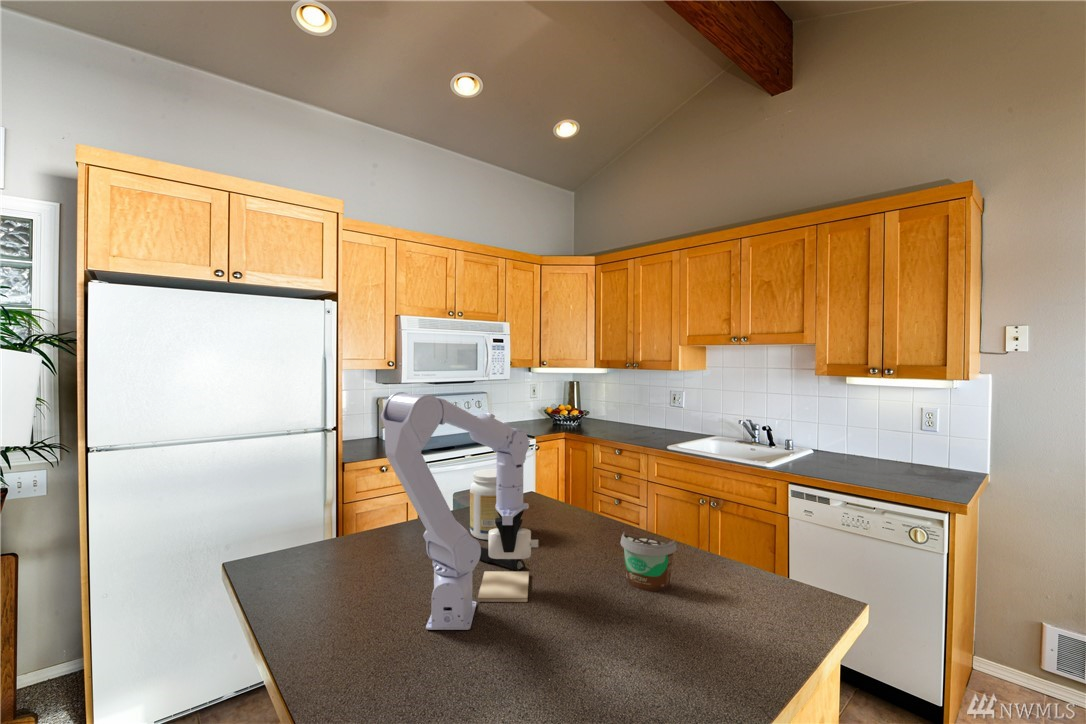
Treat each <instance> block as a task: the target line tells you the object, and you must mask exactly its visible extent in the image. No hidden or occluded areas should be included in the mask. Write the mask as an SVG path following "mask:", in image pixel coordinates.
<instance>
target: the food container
mask: <svg viewBox="0 0 1086 724" xmlns="http://www.w3.org/2000/svg"><path fill="white" fill-rule="evenodd" d="M620 545H621V547H622V548H623V551H624V552H623V553H624V554H623V555H624V564H625V574H626V582H627V583H628V584H629V585H630V586H632V587H633V588H635V589H637V588H638V590H640V591H641V590H642V591H648V592H657V591H658V592H659V591H663V590H665V589H667V588H669V587H670V583H671V574H672V566H673V558H674V553H675V552H676V551H678V549H677V543H676V542H675V540H672V541H670V542H665V541H664V542H663V541H660V540H657V539H654V538H651V537H639V536H638V537H636V536H631V535H626V533H625V530H624V531H623V532H622V535H621V538H620Z"/></svg>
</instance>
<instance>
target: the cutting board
mask: <svg viewBox="0 0 1086 724" xmlns="http://www.w3.org/2000/svg"><path fill="white" fill-rule="evenodd" d="M529 577H530V571H525V570H524V571H523V570H522V571H513V570H511V571H509V570H508V571H504V570H503V571H499V570H498V571H493V570H491V571H487V570H485V571H484V572H483V576H482V580H481V584H480V587H479V590H478V595H477V603H481V602H483V603H486V602H488V603H489V602H490V603H491V602H492V603H497V602H498V603H499V602H502V603H505V602H506V603H515V602H516V603H527V602H528V597H529V583H530V578H529Z"/></svg>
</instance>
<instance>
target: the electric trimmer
mask: <svg viewBox="0 0 1086 724" xmlns="http://www.w3.org/2000/svg"><path fill="white" fill-rule="evenodd" d="M480 547H481V555H480V559H479V561H483V562H484V563H487V564H495V565H498V566H502V567H504V568H506V569H511V571H523V570H525V569H526V564H525V562H524V559H493V558H490V557H489V556H488V548H486V547H483V546H480Z"/></svg>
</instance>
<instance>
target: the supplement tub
mask: <svg viewBox="0 0 1086 724" xmlns="http://www.w3.org/2000/svg"><path fill="white" fill-rule="evenodd" d="M472 480H473V482H472V483H471V484H470V488H469V530H470V534H471V535H472V536H473V538H474V537H475V539H476V538H477V539H480V540H483V541H484V540H485V541H486V540H487V541H488V538H489V530H491V529H496V528H497V526H496V524H495V518H500V517H499V515H498V511H497V510H496V508H495V505H496V484H497V468H484V469H478V470H476V471H474V472H473V476H472Z"/></svg>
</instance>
